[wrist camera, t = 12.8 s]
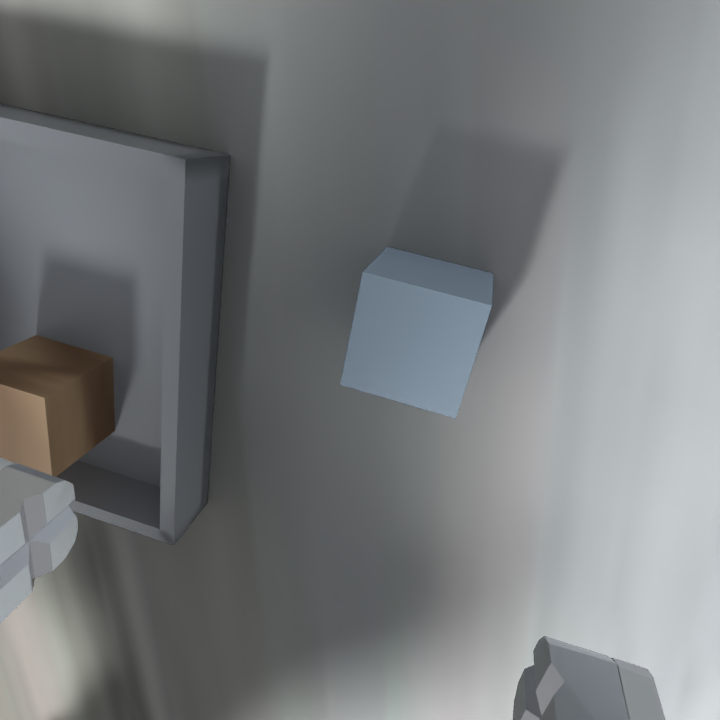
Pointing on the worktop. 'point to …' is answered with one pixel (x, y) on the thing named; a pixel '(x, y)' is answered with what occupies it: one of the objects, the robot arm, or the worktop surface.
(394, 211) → the worktop surface
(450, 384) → the slate block
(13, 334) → the charcoal tray
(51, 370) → the walnut block
